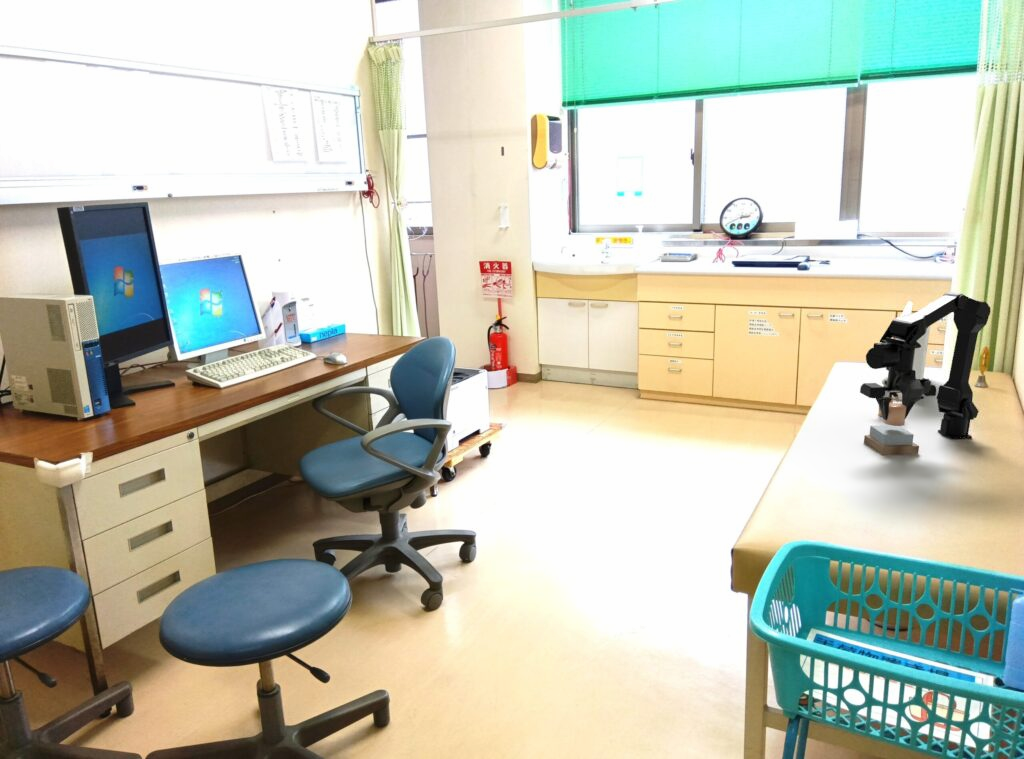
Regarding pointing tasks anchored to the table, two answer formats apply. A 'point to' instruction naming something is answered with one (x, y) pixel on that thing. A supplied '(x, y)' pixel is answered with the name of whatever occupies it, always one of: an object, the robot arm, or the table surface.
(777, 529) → the table surface
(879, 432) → the grey top slab
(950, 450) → the table surface
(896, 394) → the grandmother figurine
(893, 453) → the walnut base slab
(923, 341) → the white forked cradle stand
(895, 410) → the peach domed cylinder
